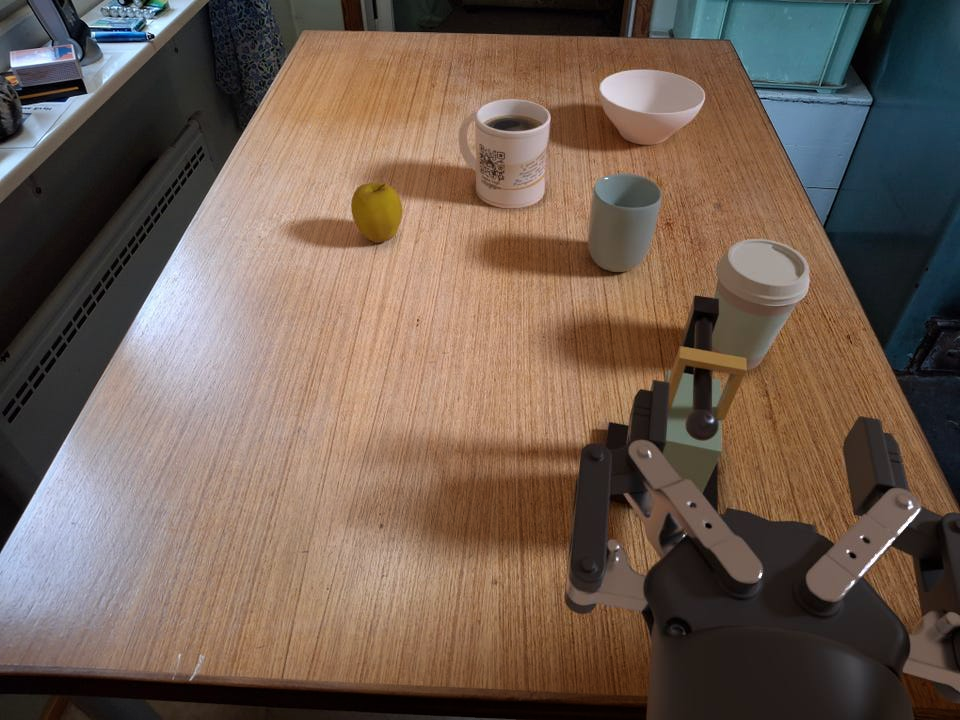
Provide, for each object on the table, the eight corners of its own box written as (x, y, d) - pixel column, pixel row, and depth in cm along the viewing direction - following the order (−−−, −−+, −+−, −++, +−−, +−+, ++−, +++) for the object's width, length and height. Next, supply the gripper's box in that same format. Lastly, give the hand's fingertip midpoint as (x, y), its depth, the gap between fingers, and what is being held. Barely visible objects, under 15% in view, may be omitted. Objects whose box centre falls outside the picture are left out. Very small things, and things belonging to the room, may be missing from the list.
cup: (578, 244, 86) (587, 174, 79) (637, 241, 86) (652, 171, 79) (590, 282, 80) (601, 210, 73) (654, 279, 81) (671, 207, 74)
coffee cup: (772, 389, 68) (814, 298, 60) (687, 368, 70) (716, 277, 62) (778, 336, 74) (816, 245, 65) (699, 317, 76) (726, 227, 68)
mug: (484, 215, 91) (484, 138, 83) (457, 172, 99) (455, 98, 91) (555, 201, 93) (562, 125, 85) (524, 160, 101) (527, 87, 93)
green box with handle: (691, 459, 58) (745, 329, 47) (688, 529, 53) (748, 402, 42) (637, 448, 59) (678, 317, 48) (630, 516, 54) (674, 388, 43)
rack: (714, 449, 63) (776, 296, 50) (714, 587, 53) (791, 442, 40) (607, 429, 65) (640, 276, 52) (588, 559, 55) (623, 411, 42)
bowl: (575, 140, 106) (580, 96, 101) (619, 103, 115) (625, 61, 110) (671, 169, 100) (681, 123, 95) (709, 127, 109) (720, 84, 104)
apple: (412, 244, 86) (407, 189, 80) (363, 256, 84) (355, 200, 79) (396, 219, 90) (391, 164, 84) (350, 229, 88) (341, 174, 83)
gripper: (1181, 912, 15) (978, 380, 26) (531, 737, 17) (604, 320, 28) (993, 944, 20) (892, 492, 31) (518, 808, 22) (584, 433, 33)
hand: (755, 410), depth 29 cm, fingers open, 8 cm apart
